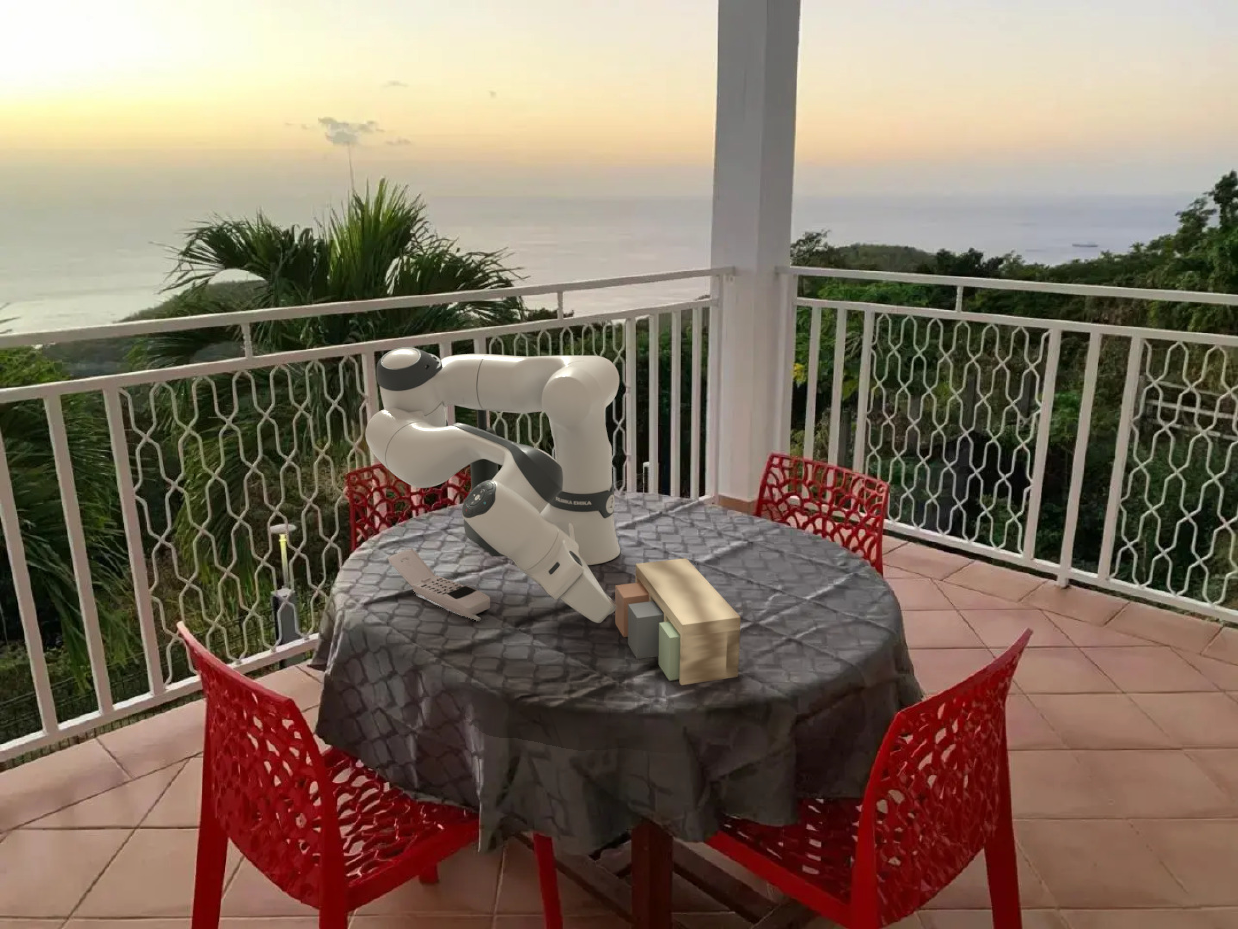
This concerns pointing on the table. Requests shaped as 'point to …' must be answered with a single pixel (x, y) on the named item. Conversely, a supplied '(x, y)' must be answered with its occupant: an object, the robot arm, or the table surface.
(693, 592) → the key console
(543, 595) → the table surface
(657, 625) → the slate key
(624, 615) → the terracotta key
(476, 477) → the wine bottle
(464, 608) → the mobile phone
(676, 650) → the sage key
